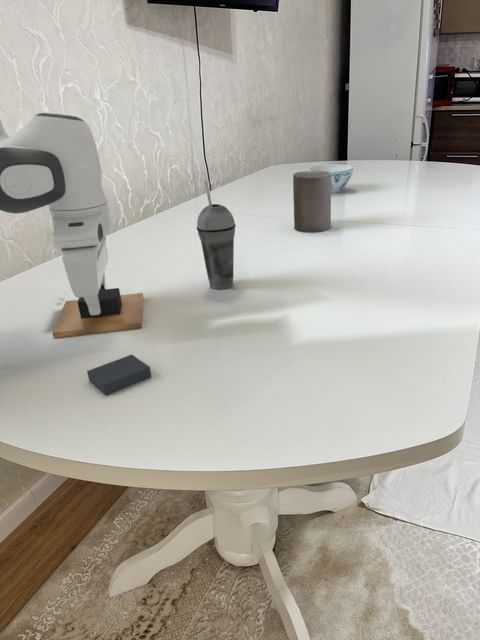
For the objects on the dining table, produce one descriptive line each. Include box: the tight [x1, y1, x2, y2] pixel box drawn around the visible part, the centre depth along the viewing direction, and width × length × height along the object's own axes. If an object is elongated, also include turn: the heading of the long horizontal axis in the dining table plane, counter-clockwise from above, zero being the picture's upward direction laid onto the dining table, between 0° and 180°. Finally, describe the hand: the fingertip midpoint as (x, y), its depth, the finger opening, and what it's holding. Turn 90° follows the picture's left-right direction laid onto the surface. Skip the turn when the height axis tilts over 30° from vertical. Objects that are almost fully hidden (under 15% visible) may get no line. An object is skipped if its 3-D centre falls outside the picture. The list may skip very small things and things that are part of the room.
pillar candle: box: [292, 168, 332, 233], centre depth 134 cm, size 10×10×15 cm
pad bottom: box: [77, 287, 122, 319], centre depth 91 cm, size 6×5×3 cm
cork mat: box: [52, 292, 145, 339], centre depth 91 cm, size 14×14×1 cm
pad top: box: [86, 354, 152, 397], centre depth 69 cm, size 6×5×3 cm
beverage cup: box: [196, 179, 237, 291], centre depth 98 cm, size 7×7×20 cm
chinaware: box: [307, 164, 354, 194], centre depth 177 cm, size 15×15×8 cm
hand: (98, 302), depth 90 cm, fingers open, 8 cm apart
